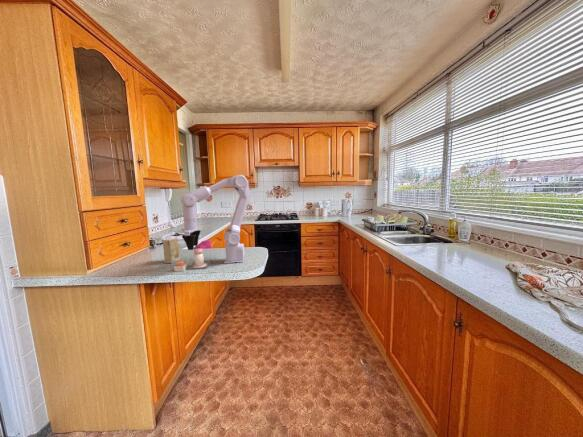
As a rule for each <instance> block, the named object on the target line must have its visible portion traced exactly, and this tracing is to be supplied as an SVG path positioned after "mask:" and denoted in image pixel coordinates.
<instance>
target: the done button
mask: <svg viewBox="0 0 583 437" xmlns="http://www.w3.org/2000/svg"><path fill="white" fill-rule="evenodd" d="M185 263H186V262H185V260H178V261H176V262H175V266H184V265H185Z"/></svg>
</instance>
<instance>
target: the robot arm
mask: <svg viewBox="0 0 583 437" xmlns="http://www.w3.org/2000/svg"><path fill="white" fill-rule="evenodd" d="M249 183H250V182H249V181H248V179H247V178H246V176H245V175H243V174H238V175H234V176H231V177H228V178H227V177H226V178H224V179H222V180H219V181H217V183H214V184H212V185H210V186H206V185H203V186H202V185H200V186H198V188H197V189H194V190H193V191H192V190H190V191H189V193H185V194H184V195H183V196H182V197H181V203H182V214H183V216H182V217H183V224H184V226H183V227H184V228H182V229H181V231H183V232H184V234H182V236H181V238H182V239H183V241H184V242H185V245H186V248H187V250H188V251H192V250H193V251H194V247H196V246H199V236H200V234H201V232H202V231H201V230H199V227H198V217H197V208H196V203H200V202H202V201H204V200H207V199H208V198H211V197H212V196H211V195H212V194H213V193H214V192H217V191H219V190H222V189H223V188H226V187H232V188H234V189H235V190H236V192H237V193H238V195H239V196H238V200H237V203H236V206H235V209H234V212H233V214H232V218H231V222H230V224H229V226H227V227H228V228H227V229H226V231H224V234H223V239H224V240H225V243H224V248H225V260H224V262H223V263H224V264H232V263H233V264H235V262H237V263H243V262H245V259H244V258H246V255H245V253H246V252H245V244H244V243H240V241H241V237H240V234H241V226H242V222H243V219H244V216H245V213H246V210H247V207H248V204H249V200H250V197H251V191H250V186H249Z"/></svg>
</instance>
